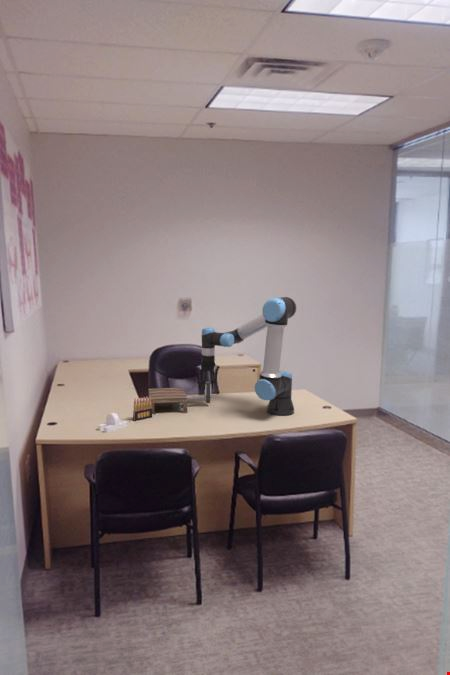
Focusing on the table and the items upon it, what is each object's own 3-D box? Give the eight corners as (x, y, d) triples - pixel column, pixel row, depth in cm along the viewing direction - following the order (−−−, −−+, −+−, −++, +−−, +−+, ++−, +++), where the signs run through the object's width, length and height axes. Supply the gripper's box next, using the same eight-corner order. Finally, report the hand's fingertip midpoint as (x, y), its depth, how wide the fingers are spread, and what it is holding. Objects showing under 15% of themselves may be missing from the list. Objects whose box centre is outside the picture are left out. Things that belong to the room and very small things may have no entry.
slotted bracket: (118, 424, 258) (118, 409, 257) (127, 426, 253) (127, 411, 252) (97, 430, 248) (97, 414, 247) (106, 433, 243) (106, 417, 242)
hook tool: (210, 403, 288) (210, 383, 287) (184, 404, 285) (184, 384, 284) (208, 400, 295) (208, 380, 293) (183, 401, 292) (183, 381, 290)
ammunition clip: (134, 421, 262) (134, 398, 260) (133, 420, 263) (132, 398, 262) (152, 417, 268) (152, 395, 267) (150, 416, 270) (150, 395, 268)
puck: (181, 408, 286) (181, 407, 286) (173, 409, 285) (173, 407, 285) (180, 406, 291) (180, 404, 291) (172, 406, 290) (172, 405, 290)
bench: (187, 412, 277) (187, 397, 276) (150, 414, 274) (150, 399, 272) (182, 401, 301) (182, 387, 299) (148, 402, 297) (148, 388, 296)
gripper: (219, 353, 293) (219, 392, 296) (194, 353, 290) (194, 393, 293) (222, 355, 285) (221, 395, 289) (195, 356, 282) (195, 396, 286)
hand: (207, 394), depth 291 cm, fingers closed on hook tool, 2 cm apart
